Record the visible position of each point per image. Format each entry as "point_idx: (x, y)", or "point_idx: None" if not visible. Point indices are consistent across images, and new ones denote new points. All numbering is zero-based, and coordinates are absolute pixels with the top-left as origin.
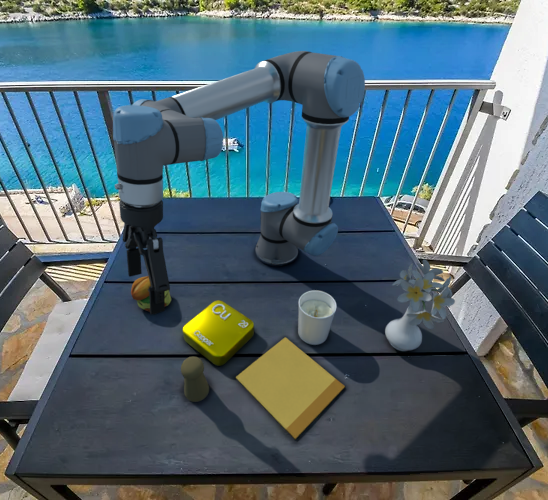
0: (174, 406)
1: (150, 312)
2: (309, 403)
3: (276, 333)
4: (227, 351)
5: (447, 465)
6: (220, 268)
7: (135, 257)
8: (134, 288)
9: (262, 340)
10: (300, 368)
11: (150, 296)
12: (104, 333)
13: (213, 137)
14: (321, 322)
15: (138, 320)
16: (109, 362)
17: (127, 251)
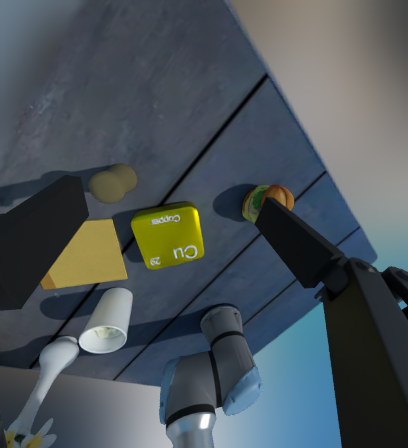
0: (116, 146)
1: (73, 177)
2: None
3: (137, 274)
4: (133, 231)
5: None
6: (243, 273)
7: (294, 252)
8: (284, 193)
9: (138, 260)
10: (85, 271)
11: (5, 216)
12: (263, 131)
13: None
14: (84, 328)
15: (249, 174)
16: (221, 114)
17: (336, 254)
